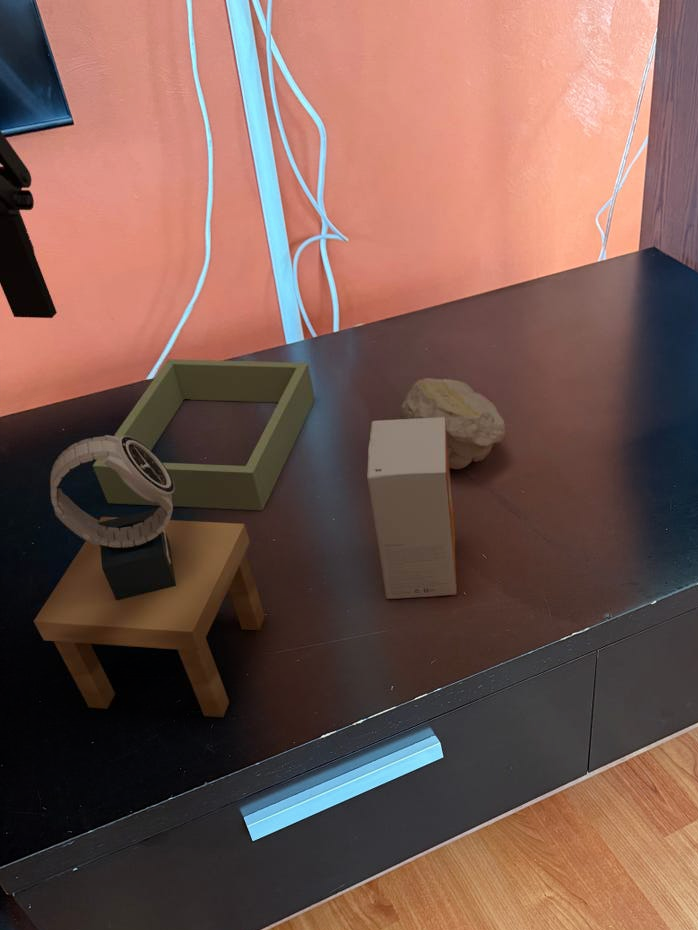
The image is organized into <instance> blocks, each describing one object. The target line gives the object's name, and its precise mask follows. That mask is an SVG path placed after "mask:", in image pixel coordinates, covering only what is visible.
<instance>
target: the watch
mask: <svg viewBox="0 0 698 930" xmlns="http://www.w3.org/2000/svg"><path fill="white" fill-rule="evenodd" d="M99 459H104V460H103V462H104V464H105V465H107V466H108V467H110V468H112V469H114V470H115V471H116V472H117V474H118V475H119V476H120V478H121V479H122V480H123V481H124V482H125V484H126V485H127V486H128V487H129V488H131V489H132V490H133V491H134V492H135V493H137V494H138V495H140V496H141V497H143V498H144V499H146V500H148V501H151V502H158V503H159V504H160V506H159V507H158V508H154V509H149V510H146V511H143V512H137V513H133V514H130V515H124V516H120V517H116V519H111V520H107V521H103V522H99V520H98V518H95V517H93V516H92V515H91V514H89V513H87V512H85V510H83V509H81V508H80V507H79V506H78V505H77V504H76V503H75V502H73V500H71V499H70V498H69V496H67V495H66V494H65V493H64V492H63V490H62V489H61V488H60V487H58V486H59V485H60V483H61V481H62V478H64V477H65V476H66V474H68V473H69V472H70V470H73V469H74V468H77V467H78V466H79V465H81V464H84V463H88V462H93V461H94V460H95V461H96V460H99ZM162 463H163V462H162V461H161V460H160V458H159V457H158V456H157V455H155V453H153V451H152V450H151V451H150V450H149V449H148V448H147V447H146V446H144V445H143V444H142V443H140V442H139V441H137V440H136V439H134V438H131V437H129V436H123V437H121V438H117V437H114V435H108V434H105V435H103V436H95V437H91V438H85V439H82V440H80V441H78V442H75V443H72V445H70V446H68V447H67V448H66V449H64V450H63V451H62V452H61V453H60V454H59V455H58V457H57V459H56V460H55V461H54V463H53V466H52V468H51V471H50V479H49V480H50V502H51V505H52V506H53V511H54V514H55V516H56V517H57V519H58V520H59V521H60V522H62V523H63V525H65V527H66V528H68V529H69V530H70V531H71V532H73V533H74V534H75V535H77V536H78V537H80V538H81V539H83V540H84V541H85V542H86V541H88V542H90V543H92V544H93V545H95V546H98V544H100V549H101V561H102V569H103V572H104V574H105V576H106V578H107V581H108V583H109V585H110V587H111V590H112V592H113V594H114V596H115V599H116V601H117V600H121V599H125V598H129V597H133V596H137V595H141V594H145V593H149V592H153V591H157V590H161V589H165V588H169V587H173V586H176V582H175V575H174V569H173V563H172V557H171V551H170V545H169V540H168V537H167V535H166V532H165V528H166V525H167V524H168V523H169V521H170V520H171V518H172V514H173V511H174V510H173V509H174V506H173V504H172V498H171V494H172V493H173V492H174V483H173V480H172V478H171V476H170V474H169V472H168V471H167V469H166V468H165V466H164V465H163V464H162Z"/></svg>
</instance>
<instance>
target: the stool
mask: <svg viewBox="0 0 698 930" xmlns="http://www.w3.org/2000/svg"><path fill="white" fill-rule="evenodd" d="M116 518H117V517H113V516H101V517H100V519H99V520H98V521H99V522H103V521H107V520H111V519H116ZM165 532H166V535H167V537H168V540H169V545H170V551H171V557H172V563H173V569H174V575H175V582H176V586H173V587H169V588H165V589H161V590H157V591H153V592H149V593H145V594H141V595H137V596H133V597H129V598H125V599H121V600H117V601H116V599H115V596H114V594H113V592H112V590H111V587H110V585H109V583H108V581H107V578H106V576H105V574H104V572H103V569H102V561H101V549H100V544H98V546H95V545H93V544H92V543H90V542H88V541H86V540H85V541H84V543H83V545H82V546H81V548H80V549H79V551H78V553H77V554H76V556H74V558H73V560H72V561H71V563H70V565H69V566H68V567H67V569H66V571H65V572H64V574H63V575H62V577H61V579H60V580H59V582H58V583H57V584H56V586H55V587H54V589H53V591H52V592H51V594H50V595H49V597H48V598H47V599H46V602H45V603H44V605H42V607H41V609H40V610H39V612H38V614H37V615H36V617H35V618H34V620H33V623H34V625H35V627H36V629H37V631H38V632H39V634H40V636H41V638H42V640H43V641H45V642H46V641H47V642H53V643H54V645H55V647H56V649H57V651H58V653H59V654H60V656H61V658H62V660H63V662H64V664H65V666H66V667H67V669H68V671H69V673H70V675H71V677H72V679H73V680H74V682H75V684H76V687H77V688H78V690H79V692H80V693H81V696H82V697H83V699H84V701H85V703H86V705H87V707H88V708H91V709H105V710H107V709H108V708H109V707H110V705H111V702H112V701H113V699H114V697H115V695H116V692H115V690H114V688H113V686H112V684H111V682H110V680H109V678H108V676H107V674H106V672H105V670H104V668H103V666H102V664H101V662H100V660H99V658H98V656H97V654H96V651H95V650H94V648H93V646H92V645H106V646H121V647H136V648H149V649H166V650H177V653H178V655H179V656H180V659H181V662H182V665H183V667H184V670H185V672H186V675H187V677H188V679H189V682H190V683H191V684H190V685H191V688H192V690H193V692H194V694H195V697H196V699H197V702H198V704H199V707H200V710H201V711H202V714H203V716H204V717H210V718H211V717H212V718H213V717H214V718H224V717H225V715H226V712H227V709H228V707H229V705H230V701H229V697H228V695H227V692H226V689H225V686H224V684H223V681H222V678H221V675H220V673H219V670H218V668H217V667H218V666H217V665H216V661H215V660H214V657H213V654H212V651H211V649H210V646H209V643H208V640H207V636H208V634H209V631H210V630H211V627H212V626H213V623H214V622H215V619H216V617H217V614H218V613H219V611H220V608H221V606H222V604H223V602H224V599H225V597H226V595H227V593H228V591H229V594H230V598H231V601H232V603H233V606H234V609H235V613H236V615H237V619H238V622H239V624H240V628H241V630H247V631H248V630H249V631H260V630H261V629H262V626H263V623H264V621H265V618H266V616H265V612H264V609H263V606H262V603H261V599H260V596H259V592H258V588H257V586H256V583H255V579H254V576H253V572H252V569H251V566H250V562H249V559H248V555H247V550H248V548H249V546H250V543H251V541H250V538H249V535H248V531H247V527H246V525H245V523H236V522H234V523H233V522H217V521H198V520H197V521H195V520H173V519H170V521H169V523H168V524H167V525H166V528H165Z"/></svg>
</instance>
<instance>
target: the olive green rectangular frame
mask: <svg viewBox="0 0 698 930" xmlns="http://www.w3.org/2000/svg"><path fill="white" fill-rule="evenodd" d="M309 366H310V365H309V363H308V362H291V361H290V362H289V361H255V360H254V361H251V360H250V361H249V360H211V359H209V360H208V359H175V358H173V359H172V358H168V359H167V360H166V361H165V363H164V364H163V366H162V367H161V368H160V370H159V372H157V374H156V375H155V377H154V378H153V380H152V381H151V383H150V384H149V386H148V387H147V388H146V389H145V391H144V392H143V394H142V395H141V397H140V398H139V400H138V401H137V403H136V404H135V405H134V406H133V408H132V409H131V411H130V412H129V414H128V416H127V417H126V418H125V420H124V421H123V422H122V423H121V425H120V427H119V428H118V429H117V431H116V432H115V434H114V435H113V436H114V437H117V438H121V437H123V436H129V437H131V438H134V439H136V440H137V441H139V442H140V443H142V444H143V445H144V446H146V447H147V448H148V449H149V450H150V451H151V452H152V450H153V448H154V447H155V446H156V444H157V442H158V441H159V439H160V438H161V436H162V435H163V433H164V431H165V430H166V428H167V427H168V425H169V424H170V423H171V421H172V419H173V417H174V416H175V415H176V414H177V411H178V410H179V408H180V406H181V405H182V404H183V402H184V401H183V400H185V399H188V400H189V399H190V400H189V401H215V402H217V401H218V402H245V403H246V402H251V403H254V402H255V403H277V404H276V407H275V408H274V411H273V412H272V415H271V417H270V418H269V420H268V422H267V423H266V426H265V428H264V430H263V432H262V433H261V435H260V438H259V440H258V441H257V443H256V445H255V447H254V449H253V451H252V452H251V455H250V457H249V458H248V461H247V463H246V464H245V465H229V464H228V465H226V464H207V463H205V464H203V463H182V462H181V463H180V462H162V464H163V465H164V466H165V468H166V469H167V471H168V472H169V474H170V476H171V478H172V480H173V483H174V492H173V493H172V494H171V498H172V504H173V507H177V508H178V507H179V508H180V507H181V508H199V509H200V508H201V509H202V508H203V509H224V510H243V511H264V509H265V507H266V504H267V503H268V500H269V498H270V496H271V494H272V492H273V489H274V488H275V486H276V483H277V482H278V479H279V477H280V475H281V473H282V470H283V469H284V467H285V465H286V462H287V460H288V458H289V455H290V453H291V452H292V449H293V447H294V445H295V443H296V441H297V439H298V436H299V435H300V432H301V430H302V428H303V426H304V424H305V421H306V419H307V417H308V416H309V413H310V411H311V409H312V406H313V405H314V402H315V400H316V397H315V392H314V387H313V382H312V376H311V372H310V371H311V370H310V367H309ZM185 401H186V400H185ZM103 460H104V459H99V460H95V462H94V463H93V464H92V468H93V470H94V473H95V475H96V478H97V480H98V483H99V485H100V487H101V489H102V492H103V494H104V497H105V500H106V502H107V504H115V505H116V504H119V505H135V506H136V505H138V506H159V507H161V506H160V504H159V503H158V502H151V501H148V500H146V499H144V498H143V497H141V496H140V495H138V494H137V493H135V492H134V491H133V490H132V489H131V488H129V487H128V486H127V485H126V484H125V482H124V481H123V480H122V479H121V478H120V476H119V475H118V474H117V472H116V471H115V470H114V469H112V468H110V467H108V466H107V465H105V464H104V462H103Z"/></svg>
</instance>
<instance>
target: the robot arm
mask: <svg viewBox="0 0 698 930" xmlns="http://www.w3.org/2000/svg"><path fill="white" fill-rule="evenodd" d="M0 165H1V166H0V286H1V289H2V291H3V294H4V296H5V299H6V301H7V303H8V305H9V309H10V311H11V313H12V315H13V317H14V318H30V319H31V318H33V319H35V318H36V319H38V318H39V319H53V318H54V317H55V316H56V315H57V309H56V306H55V304H54V301H53V298H52V296H51V293H50V290H49V288H48V286H47V283H46V281H45V277H44V275H43V273H42V270H41V267H40V264H39V262H38V259H37V257H36V253H35V249H34V245H33V243H32V240H31V239H30V235H29V233H28V230H27V227H26V224H25V222H24V219H23V216H22V214H21V211H31V210H33V208H34V205H35V200H34V196H33V193H32V192H31V191H30V190H29V189H28V188H30V187H31V185H32V176H31V173H30V171H29V169H28V167H27V166H26V165H25V163H24V161H23V160H22V159H21V157H20V156H19V154H18V153H17V152H16V150H15V149H14V148H13V146H12V145H11V143H10V142H9V141H8V139H7V138H6V136H5V135H4V134H3V132H2V131H1V130H0Z"/></svg>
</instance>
